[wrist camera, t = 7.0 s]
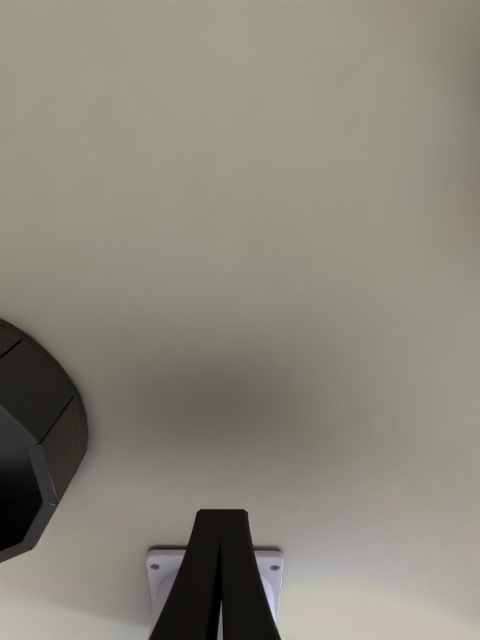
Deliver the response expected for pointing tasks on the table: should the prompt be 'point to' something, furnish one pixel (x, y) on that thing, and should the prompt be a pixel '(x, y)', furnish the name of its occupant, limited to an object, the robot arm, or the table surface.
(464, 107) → the table surface
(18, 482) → the pan
